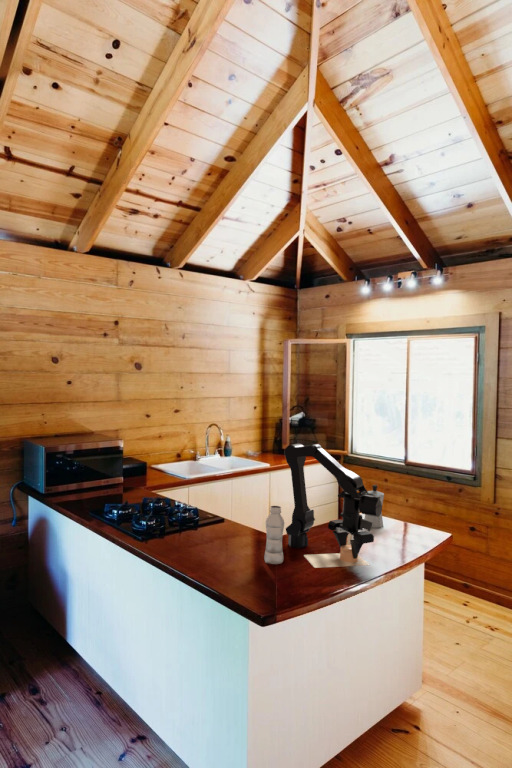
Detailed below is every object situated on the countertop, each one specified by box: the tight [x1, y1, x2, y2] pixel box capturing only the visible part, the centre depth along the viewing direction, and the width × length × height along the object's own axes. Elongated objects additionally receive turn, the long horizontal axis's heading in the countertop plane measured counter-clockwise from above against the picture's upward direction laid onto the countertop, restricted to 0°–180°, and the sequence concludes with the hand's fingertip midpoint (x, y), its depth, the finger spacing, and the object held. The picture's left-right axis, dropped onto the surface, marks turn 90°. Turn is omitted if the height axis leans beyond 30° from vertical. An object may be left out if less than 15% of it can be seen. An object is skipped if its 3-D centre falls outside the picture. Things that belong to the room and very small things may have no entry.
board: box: [303, 552, 370, 569], centre depth 175 cm, size 20×12×5 cm, turn 103°
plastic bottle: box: [263, 505, 285, 565], centre depth 172 cm, size 6×7×20 cm
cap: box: [339, 544, 358, 563], centre depth 176 cm, size 6×6×4 cm
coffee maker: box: [363, 484, 385, 529], centre depth 223 cm, size 15×9×18 cm, turn 144°
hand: (349, 555), depth 176 cm, fingers closed on cap, 6 cm apart
